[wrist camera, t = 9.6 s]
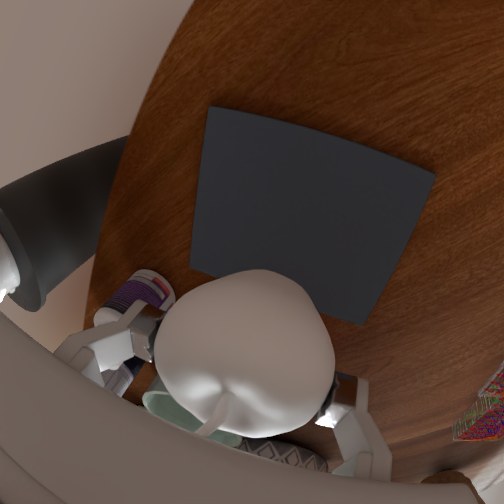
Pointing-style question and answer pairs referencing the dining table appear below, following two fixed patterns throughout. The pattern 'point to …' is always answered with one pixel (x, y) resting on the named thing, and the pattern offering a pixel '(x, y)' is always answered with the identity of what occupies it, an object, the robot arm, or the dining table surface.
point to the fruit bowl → (180, 413)
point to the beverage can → (122, 375)
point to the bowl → (453, 481)
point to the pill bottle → (136, 297)
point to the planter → (283, 453)
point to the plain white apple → (246, 354)
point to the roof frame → (485, 394)
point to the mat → (304, 209)
